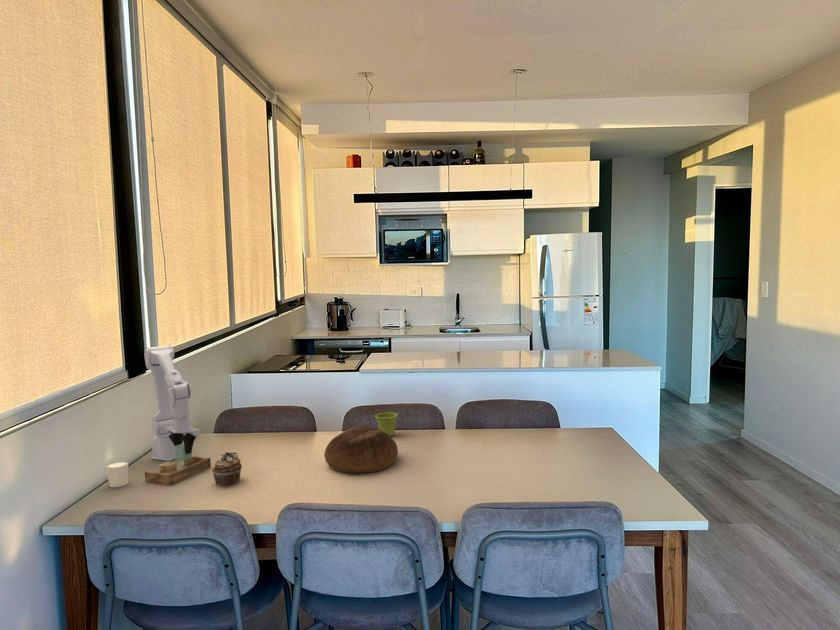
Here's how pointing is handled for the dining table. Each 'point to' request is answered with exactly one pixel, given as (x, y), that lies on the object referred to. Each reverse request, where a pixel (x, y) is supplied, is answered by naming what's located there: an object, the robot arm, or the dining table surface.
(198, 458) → the corral
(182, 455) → the teal block
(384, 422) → the plant pot
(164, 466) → the oak block
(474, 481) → the dining table surface
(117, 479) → the white cylinder
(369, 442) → the bread
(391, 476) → the dining table surface
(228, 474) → the cupcake
